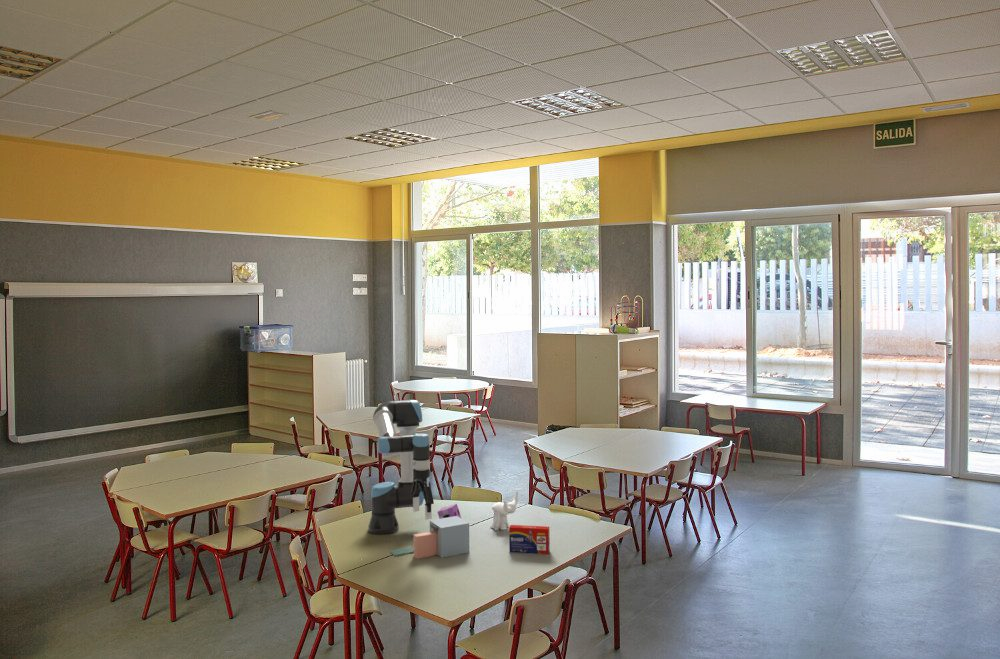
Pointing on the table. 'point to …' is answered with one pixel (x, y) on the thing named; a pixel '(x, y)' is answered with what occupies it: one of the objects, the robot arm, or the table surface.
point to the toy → (449, 511)
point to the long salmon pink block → (425, 544)
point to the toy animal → (503, 513)
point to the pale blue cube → (451, 535)
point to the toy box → (529, 539)
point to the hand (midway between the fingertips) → (422, 515)
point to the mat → (403, 551)
